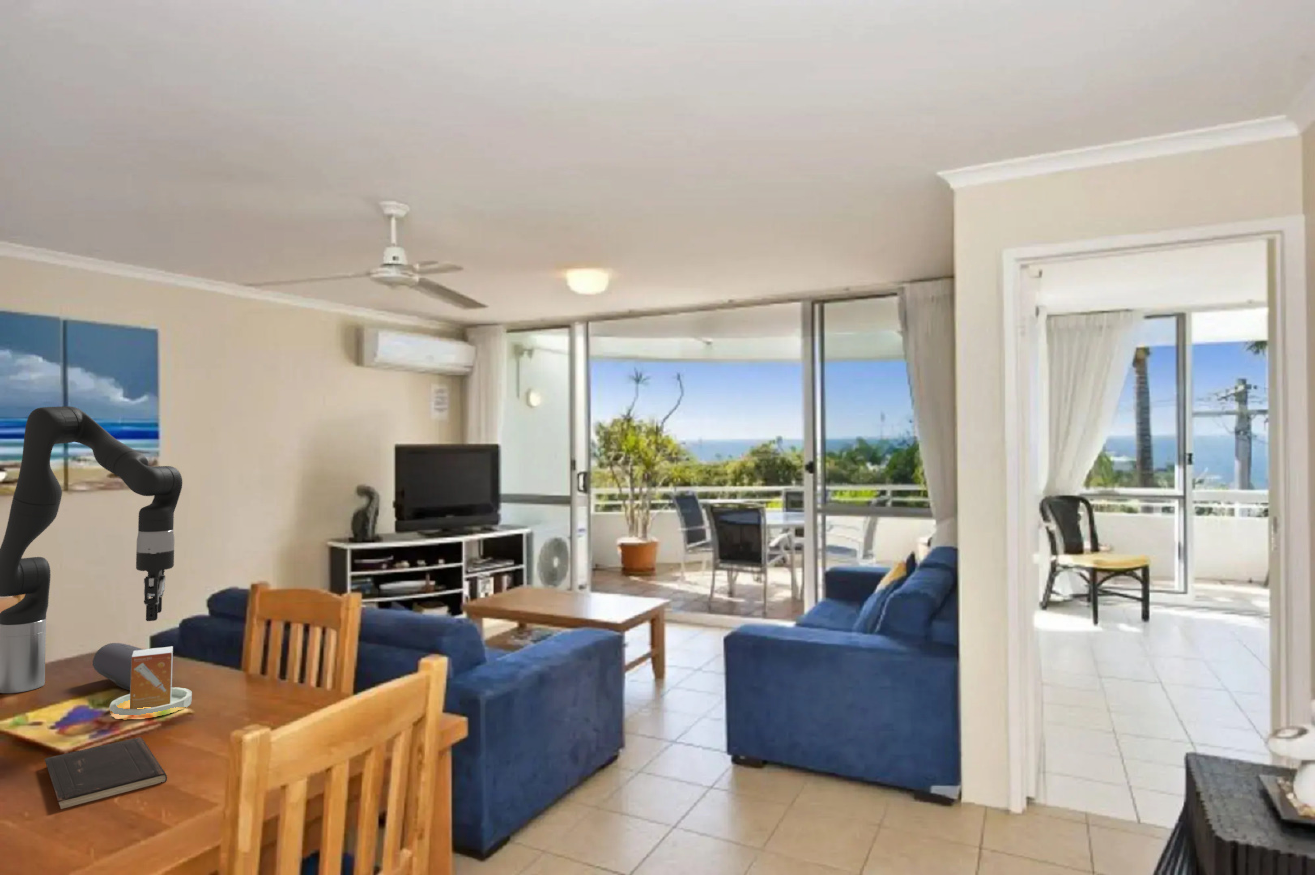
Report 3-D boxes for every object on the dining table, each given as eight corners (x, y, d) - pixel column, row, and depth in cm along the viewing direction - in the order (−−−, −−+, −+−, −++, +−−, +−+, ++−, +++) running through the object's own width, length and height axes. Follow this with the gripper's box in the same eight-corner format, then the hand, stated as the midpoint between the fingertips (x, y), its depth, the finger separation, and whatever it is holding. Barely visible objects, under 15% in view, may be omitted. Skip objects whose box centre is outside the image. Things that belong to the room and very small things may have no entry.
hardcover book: (57, 813, 127) (58, 800, 127) (44, 770, 143) (44, 758, 143) (166, 784, 138) (167, 772, 138) (142, 747, 155) (143, 736, 155)
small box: (129, 712, 171) (130, 656, 171) (131, 704, 176) (132, 650, 176) (171, 706, 175) (172, 652, 175) (171, 698, 180) (173, 645, 180)
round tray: (116, 702, 179) (116, 693, 179) (193, 692, 186) (193, 683, 186) (104, 724, 165) (104, 715, 165) (188, 713, 172) (188, 704, 172)
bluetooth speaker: (170, 689, 188) (171, 650, 189) (128, 700, 181) (129, 659, 181) (130, 673, 201) (130, 637, 201) (89, 682, 193) (90, 644, 193)
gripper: (140, 546, 180) (139, 611, 180) (132, 554, 168) (130, 625, 168) (176, 544, 184) (175, 609, 184) (171, 552, 171) (169, 621, 171)
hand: (153, 616), depth 176 cm, fingers open, 8 cm apart
